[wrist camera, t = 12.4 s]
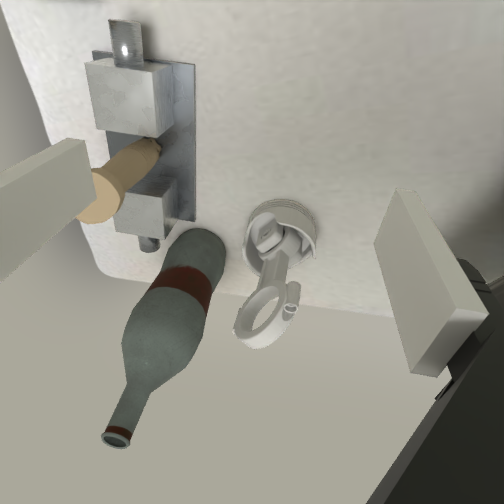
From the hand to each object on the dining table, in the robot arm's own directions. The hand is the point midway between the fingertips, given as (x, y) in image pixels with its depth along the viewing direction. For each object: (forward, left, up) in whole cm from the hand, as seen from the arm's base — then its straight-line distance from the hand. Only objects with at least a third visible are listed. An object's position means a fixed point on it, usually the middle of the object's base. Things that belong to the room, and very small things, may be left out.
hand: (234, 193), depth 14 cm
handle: (+16, +10, -28) cm, 34 cm away
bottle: (+9, +26, -29) cm, 40 cm away
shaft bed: (+16, +10, -29) cm, 34 cm away
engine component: (-3, +20, -29) cm, 35 cm away
